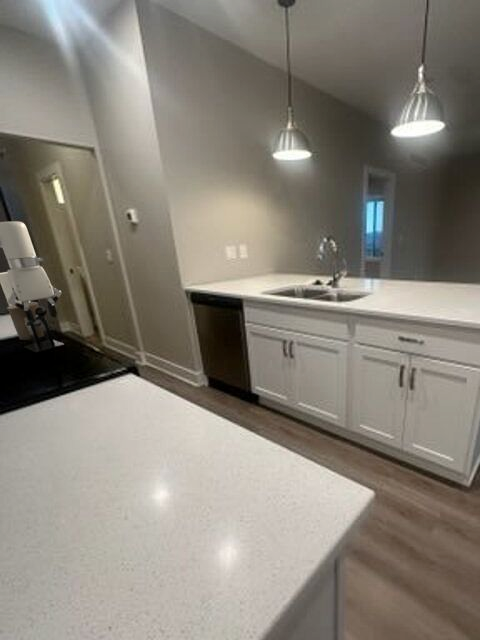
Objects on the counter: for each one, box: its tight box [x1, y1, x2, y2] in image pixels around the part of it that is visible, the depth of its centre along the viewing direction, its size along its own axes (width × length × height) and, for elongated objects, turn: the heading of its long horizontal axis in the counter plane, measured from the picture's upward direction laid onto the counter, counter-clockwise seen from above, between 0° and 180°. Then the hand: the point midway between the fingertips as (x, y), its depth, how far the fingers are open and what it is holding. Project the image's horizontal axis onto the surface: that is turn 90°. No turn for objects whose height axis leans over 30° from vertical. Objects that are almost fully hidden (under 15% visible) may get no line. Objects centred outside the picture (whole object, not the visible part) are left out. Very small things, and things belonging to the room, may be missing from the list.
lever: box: [33, 306, 48, 327], centre depth 117 cm, size 13×3×3 cm, turn 52°
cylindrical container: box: [0, 271, 31, 307], centre depth 140 cm, size 7×7×25 cm
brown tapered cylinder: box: [6, 301, 45, 341], centre depth 134 cm, size 10×10×15 cm
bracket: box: [24, 315, 65, 353], centre depth 122 cm, size 12×9×12 cm
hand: (43, 318), depth 115 cm, fingers open, 5 cm apart
